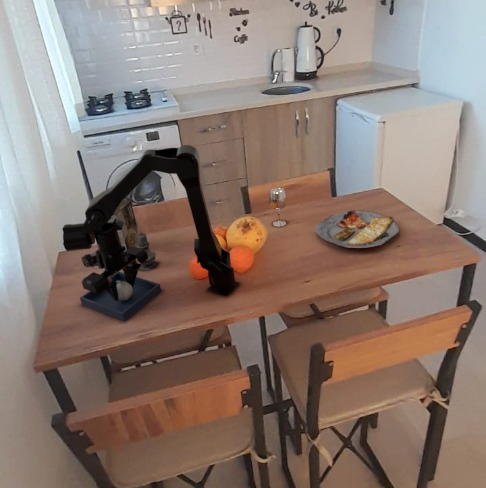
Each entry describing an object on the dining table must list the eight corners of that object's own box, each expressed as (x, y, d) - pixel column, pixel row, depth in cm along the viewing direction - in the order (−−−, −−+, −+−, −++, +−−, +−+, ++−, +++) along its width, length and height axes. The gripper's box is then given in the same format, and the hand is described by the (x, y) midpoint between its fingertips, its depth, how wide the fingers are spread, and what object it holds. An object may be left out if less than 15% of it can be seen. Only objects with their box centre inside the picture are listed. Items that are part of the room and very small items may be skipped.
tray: (161, 291, 130) (160, 284, 128) (124, 321, 120) (122, 313, 118) (120, 278, 138) (118, 271, 137) (82, 305, 128) (79, 297, 127)
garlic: (113, 295, 130) (108, 279, 127) (132, 289, 131) (128, 273, 129) (116, 306, 125) (111, 290, 122) (136, 300, 126) (131, 284, 124)
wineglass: (269, 221, 160) (267, 188, 154) (286, 218, 160) (284, 186, 154) (272, 228, 155) (269, 195, 149) (289, 226, 155) (287, 192, 149)
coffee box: (125, 243, 156) (113, 199, 148) (142, 244, 155) (131, 199, 147) (111, 257, 149) (98, 212, 141) (129, 258, 147) (117, 212, 139)
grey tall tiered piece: (153, 271, 139) (145, 235, 133) (135, 270, 141) (126, 235, 135) (160, 260, 144) (153, 226, 138) (143, 260, 146) (134, 226, 140)
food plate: (347, 210, 161) (347, 200, 159) (411, 227, 146) (412, 217, 144) (302, 239, 146) (302, 229, 145) (368, 262, 131) (368, 251, 130)
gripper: (114, 224, 130) (127, 271, 138) (59, 256, 117) (77, 306, 125) (143, 231, 125) (155, 279, 132) (89, 265, 112) (106, 317, 119)
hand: (123, 294), depth 127 cm, fingers closed on garlic, 5 cm apart
